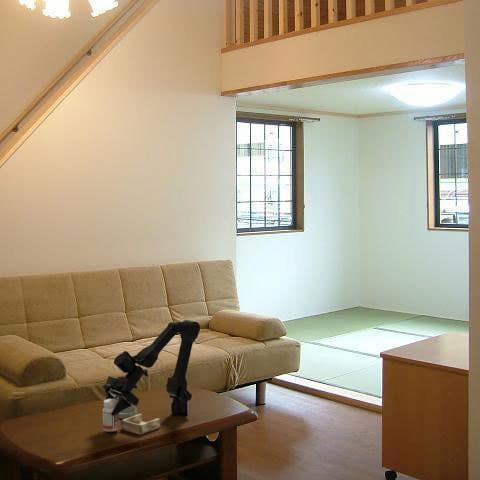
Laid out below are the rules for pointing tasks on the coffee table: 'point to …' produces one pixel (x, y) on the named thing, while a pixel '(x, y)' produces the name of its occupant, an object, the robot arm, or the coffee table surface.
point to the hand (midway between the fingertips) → (107, 413)
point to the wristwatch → (128, 412)
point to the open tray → (139, 424)
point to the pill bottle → (110, 416)
